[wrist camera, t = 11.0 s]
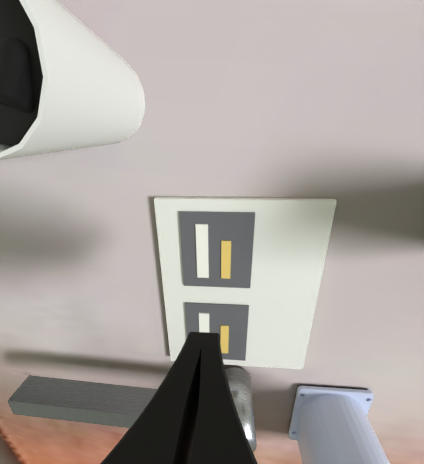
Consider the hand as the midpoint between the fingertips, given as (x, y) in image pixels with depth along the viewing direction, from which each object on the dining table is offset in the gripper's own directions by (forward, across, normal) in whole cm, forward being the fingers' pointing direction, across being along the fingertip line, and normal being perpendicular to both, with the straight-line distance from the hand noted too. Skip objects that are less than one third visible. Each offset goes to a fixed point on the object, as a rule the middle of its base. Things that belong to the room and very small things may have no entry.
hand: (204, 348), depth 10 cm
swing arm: (+10, +8, +15) cm, 20 cm away
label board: (+10, -2, +4) cm, 12 cm away
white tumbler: (+11, +8, -12) cm, 18 cm away
